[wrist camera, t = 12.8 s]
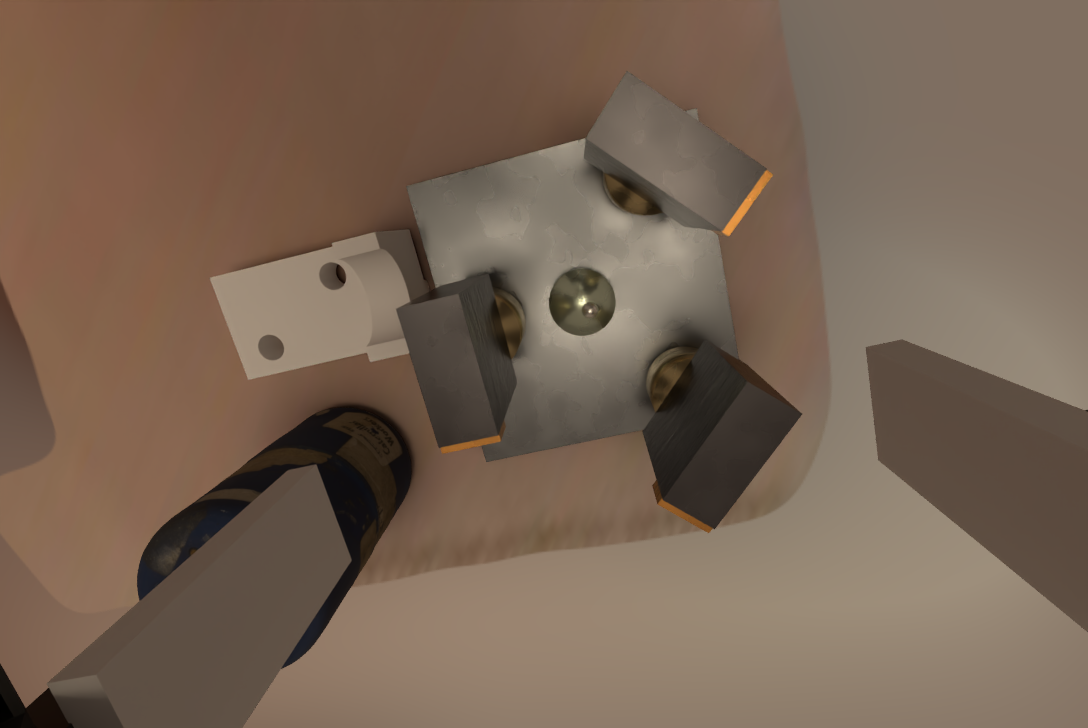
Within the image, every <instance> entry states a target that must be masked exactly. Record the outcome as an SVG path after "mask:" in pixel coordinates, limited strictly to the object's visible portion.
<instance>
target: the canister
mask: <svg viewBox="0 0 1088 728" xmlns="http://www.w3.org/2000/svg"><path fill="white" fill-rule="evenodd" d="M315 464H316V465H317V468H318V470H319V473H320V476H321V479H322V481H323V484H324V487H325V489H326V492H327V495H328V497H329V500H330V503H331V506H332V508H333V511H334V514H335V516H336V519H337V522H338V524H339V527H340V530H341V533H342V535H343V538H344V541H345V543H346V546H347V549H348V551H349V554H350V557H351V560H352V561H351V562H350V564H349V565H348V567H347V568H346V570H345V571H344V573H343V574H342V576H341V578H340V579H339V581H338V582H337V584H336V585H335V587H334V588H333V590H332V591H331V593H330V594H329V596H328V597H327V599H326V600H325V602H324V604H323V605H322V607H321V608H320V610H319V611H318V613H317V614H316V616H315V617H314V619H313V620H312V622H311V623H310V625H309V626H308V628H307V630H306V631H305V633H304V634H303V636H302V637H301V639H300V640H299V642H298V643H297V645H296V646H295V648H294V649H293V651H292V652H291V654H290V656H289V657H288V659H287V660H286V662H285V663H284V665H283V666H282V668H284V667H286V666H288V665H290V664H292V663H293V662H295V661H296V660H298V659H299V658H300V657H302V656H303V655H304V654H305V653H306V652H307V651H308V650H309V649H310V648H311V647H312V646H313V645H314V643H315V642H316V641H317V639H318V638H319V637H320V635H321V634H322V632H323V630H324V629H325V628H326V626H327V625H328V623H329V621H330V620H331V618H332V616H333V615H334V613H335V611H336V609H337V608H338V607H339V605H340V603H341V602H342V600H343V599H344V597H345V595H346V594H347V592H348V591H349V589H350V588H351V586H352V585H353V583H354V581H355V580H356V578H357V576H358V575H359V573H360V572H361V570H362V569H363V567H364V565H365V564H366V562H367V561H368V559H369V558H370V556H371V554H372V552H373V550H374V547H375V546H376V544H377V542H378V541H379V539H380V538H381V536H382V534H383V533H384V531H385V530H386V528H387V527H388V525H389V523H390V521H391V520H392V518H393V516H394V515H395V513H396V511H397V510H398V508H399V507H400V505H401V503H402V502H403V500H404V498H405V496H406V494H407V492H408V489H409V485H410V481H411V461H410V456H409V453H408V450H407V448H406V445H405V443H404V442H403V440H402V438H401V437H400V435H399V434H398V433H397V431H396V430H395V429H394V428H393V427H392V426H391V425H389V424H388V423H387V422H386V421H384V420H383V419H381V418H380V417H378V416H376V415H374V414H372V413H370V412H367V411H364V410H360V409H356V408H333V409H327V410H324V411H321V412H318V413H316V414H314V415H312V416H311V417H309V418H308V419H306V420H305V421H303V422H302V423H301V424H300V425H298V426H297V427H296V428H294V429H293V430H291V431H290V432H288V433H287V434H285V435H284V436H282V437H281V438H279V439H278V440H276V441H275V442H273V443H272V444H271V445H269V446H268V447H266V448H265V449H264V450H262V451H261V452H260V453H258V454H257V455H256V456H254V457H253V458H252V459H250V460H249V461H248V462H247V463H246V464H245V465H243V466H242V467H241V468H240V469H239V470H237V471H236V472H235V473H233V474H232V475H231V476H229V477H228V478H226V479H225V480H224V481H222V482H221V483H220V484H218V485H217V486H216V487H214V488H213V489H212V490H210V491H209V492H208V493H206V494H205V495H204V496H202V497H201V498H200V499H198V500H197V501H195V502H194V503H193V504H191V505H190V506H188V507H187V508H185V509H184V510H182V511H181V512H180V513H178V514H177V515H175V516H174V517H173V518H171V519H170V520H169V521H168V522H167V523H166V524H164V525H163V526H162V527H161V528H160V529H159V530H158V531H157V533H156V534H155V535H154V536H153V537H152V539H151V540H150V542H149V543H148V545H147V547H146V548H145V550H144V552H143V555H142V557H141V560H140V564H139V569H138V575H137V588H138V596H139V600H142V599H143V598H144V597H145V596H146V595H147V594H148V593H150V592H151V591H152V590H153V589H154V588H155V587H156V586H157V585H159V584H160V583H161V582H162V581H163V580H164V579H165V578H167V577H168V576H169V575H170V574H171V573H172V572H173V571H174V570H176V569H177V568H178V567H179V566H180V565H181V564H182V563H183V562H185V561H186V560H187V559H188V558H189V557H190V556H191V555H193V554H194V553H195V552H196V551H197V550H198V549H199V548H200V547H202V546H203V545H204V544H205V543H206V542H207V541H208V540H210V539H211V538H212V537H213V536H214V535H215V534H216V533H217V532H219V531H220V530H221V529H222V528H223V527H224V526H225V525H226V524H228V523H229V522H230V521H231V520H232V519H233V518H234V517H236V516H237V515H238V514H239V513H240V512H241V511H242V510H243V509H245V508H246V507H247V506H248V505H249V504H250V503H251V502H253V501H254V500H255V499H256V498H257V497H258V496H259V495H260V494H262V493H263V492H264V491H265V490H266V489H267V488H268V487H269V486H271V485H272V484H273V483H274V482H275V481H276V480H277V479H279V478H280V477H281V476H282V475H283V474H284V473H285V472H286V471H288V470H292V469H296V468H301V467H306V466H310V465H315ZM282 668H281V669H282Z"/></svg>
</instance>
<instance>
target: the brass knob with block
mask: <svg viewBox="0 0 1088 728" xmlns="http://www.w3.org/2000/svg"><path fill="white" fill-rule="evenodd" d="M646 387H647V392H648V395H649V397H650V400H651V403H652V405H653V408H654V410H655V414H654V415H653V417H652V418H651V420H650V421H649V423H648V424H647V426H646V427H645V429H644V430H643V435H644V438H645V442H646V445H647V448H648V452H649V455H650V459H651V462H652V465H653V469H654V472H655V476H656V479H657V480H656V481H655V483H654V484H653V485H652V486H653V489H654V493H655V497H656V500H657V504H658V505H660V506H662V507H663V508H665V509H667V510H669V511H670V512H672V513H674V514H676V515H677V516H679V517H681V518H683V519H685V520H686V521H688V522H690V523H692V524H693V525H695V526H697V527H699V528H700V529H702V530H704V531H706V532H708V533H709V532H710V531H711V530H712V529H715V528H716V527H717V525H718V524H719V523H720V521H721V520H722V519H723V518H724V516H725V515H726V514H727V512H728V511H729V510H730V508H731V507H732V506H733V504H734V503H735V502H736V500H737V499H738V498H739V497H740V495H741V494H742V493H743V491H744V490H745V489H746V487H747V486H748V485H749V483H750V482H751V481H752V479H753V478H754V477H755V476H756V474H757V473H758V472H759V470H760V469H761V468H762V466H763V465H764V464H765V462H766V461H767V460H768V458H769V457H770V456H771V455H772V453H773V452H774V451H775V449H776V448H777V447H778V445H779V444H780V443H781V441H782V440H783V439H784V437H785V436H786V435H787V434H788V432H789V431H790V430H791V428H792V427H793V426H794V424H795V423H796V422H797V420H798V419H799V418H800V416H801V415H802V413H800V412H799V411H798V410H797V409H796V408H795V407H794V406H793V405H791V404H790V403H789V402H788V401H787V400H786V399H785V398H784V397H783V396H781V395H780V394H779V393H778V392H777V391H776V390H775V389H774V388H772V387H771V386H770V385H769V384H768V383H767V382H766V381H765V380H763V379H762V378H761V377H760V376H759V375H758V374H757V373H756V372H755V371H753V370H752V369H751V368H750V367H749V366H748V365H747V364H745V363H744V362H742V361H740V360H739V359H737V358H735V357H733V356H732V355H730V354H728V353H727V352H725V351H723V350H722V349H720V348H718V347H717V346H715V345H713V344H712V343H710V342H708V341H707V340H705V341H704V342H703V343H702V345H701V346H700V348H699V349H697V348H694V347H687V346H682V347H675V348H672V349H669V350H667V351H665V352H664V353H662V354H661V355H659V356H658V357H657V358H656V359H655V360H654V362H653V363H652V365H651V366H650V368H649V371H648V374H647V379H646Z"/></svg>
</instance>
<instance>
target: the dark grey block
mask: <svg viewBox="0 0 1088 728" xmlns="http://www.w3.org/2000/svg"><path fill="white" fill-rule="evenodd" d="M584 159H585V160H586V161H588V162H589V163H591V164H592V165H594V166H595V167H597V168H598V169H600V170H601V171H603V183H604V187H605V190H606V193H607V195H608V196H609V198H610V200H611V201H612V202H613V203H614V204H615V205H616V206H617V207H618V208H620V209H621V210H623V211H625V212H627V213H630V214H634V215H655V214H660V213H665V214H666V215H668V216H669V217H671V218H672V219H674V220H675V221H676V222H678V223H679V224H681V225H682V226H684V227H690V228H698V229H706V230H711V231H713V232H714V233H716V234H717V235H722V236H729V235H730V234H731V233H732V231H733V230H734V228H735V227H736V226H737V224H738V223H739V221H740V220H741V219H742V217H743V216H744V215H745V213H746V212H747V210H748V209H749V208H750V206H751V205H752V203H753V202H754V201H755V199H756V198H757V196H758V195H759V194H760V192H761V191H762V189H763V188H764V187H765V185H766V184H767V182H768V181H769V180H770V178H771V177H772V175H773V174H772V173H770V172H769V171H767V170H766V168H765V167H764V166H762V165H761V164H759V163H758V162H756V161H755V160H754V159H752V158H751V157H749V156H748V155H746V154H745V153H744V152H742V151H741V150H739V149H738V148H736V147H735V146H734V145H732V144H731V143H729V142H728V141H726V140H725V139H724V138H722V137H721V136H719V135H718V134H716V133H715V132H714V131H712V130H711V129H709V128H708V127H707V126H705V125H704V124H702V123H701V122H699V121H698V120H697V119H695V118H694V117H692V116H691V115H689V114H688V113H687V112H685V111H684V110H682V109H681V108H679V107H678V106H677V105H675V104H674V103H672V102H671V101H669V100H668V99H667V98H665V97H664V96H662V95H661V94H659V93H658V92H657V91H655V90H654V89H652V88H651V87H649V86H648V85H647V84H645V83H644V82H642V81H641V80H639V79H638V78H637V77H635V76H634V75H632V74H631V73H629V72H628V71H627V72H626V73H625V75H624V76H623V78H622V80H621V81H620V83H619V85H618V86H617V88H616V89H615V91H614V93H613V94H612V96H611V98H610V99H609V101H608V102H607V104H606V106H605V107H604V109H603V111H602V112H601V114H600V115H599V117H598V119H597V120H596V122H595V124H594V125H593V127H592V128H591V130H590V132H589V133H588V135H587V137H586V139H585V149H584Z"/></svg>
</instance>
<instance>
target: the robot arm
mask: <svg viewBox="0 0 1088 728" xmlns="http://www.w3.org/2000/svg"><path fill="white" fill-rule="evenodd" d="M866 354H867V363H868V371H869V380H870V389H871V398H872V407H873V416H874V425H875V434H876V443H877V452H878V460H879V461H880V462H881V463H882V464H884V465H885V466H886V467H887V468H889V469H890V470H891V471H892V472H894V473H895V474H896V475H897V476H898V477H900V478H901V479H902V480H904V482H906V483H907V484H908V485H909V486H911V487H912V488H913V489H914V490H915V491H917V492H918V493H919V494H920V495H921V496H923V497H924V498H925V499H927V500H928V501H929V502H930V503H931V504H932V505H934V506H935V507H936V508H937V509H939V510H940V511H941V512H942V513H943V514H945V515H946V516H947V517H948V518H949V519H951V520H952V521H953V522H954V523H956V524H957V525H958V526H959V527H960V528H962V529H963V530H964V531H965V532H966V533H968V534H969V535H970V536H971V537H973V538H974V539H975V540H976V541H977V542H979V543H980V544H981V545H982V546H984V547H985V548H986V549H987V550H988V551H990V552H991V553H992V554H993V555H995V556H996V557H997V558H998V559H999V560H1001V561H1002V562H1003V563H1004V564H1006V565H1007V566H1008V567H1009V568H1010V569H1012V570H1013V571H1014V572H1015V573H1016V574H1018V575H1019V576H1020V577H1021V578H1022V579H1024V580H1025V581H1026V582H1027V583H1029V584H1030V585H1031V586H1032V587H1034V588H1035V589H1036V590H1037V591H1038V592H1040V593H1041V594H1042V595H1043V596H1045V597H1046V598H1047V599H1048V600H1049V601H1050V602H1052V603H1053V604H1054V605H1056V606H1057V607H1058V608H1059V609H1060V610H1061V611H1063V612H1064V613H1065V614H1066V615H1067V616H1069V617H1070V618H1071V619H1072V620H1074V621H1075V622H1076V623H1077V624H1079V625H1080V626H1081V627H1082V628H1083V629H1085V630H1086V631H1087V632H1088V410H1082V409H1079V408H1077V407H1074V406H1071V405H1069V404H1066V403H1064V402H1061V401H1059V400H1056V399H1054V398H1051V397H1048V396H1045V395H1043V394H1041V393H1038V392H1036V391H1033V390H1030V389H1027V388H1025V387H1023V386H1020V385H1018V384H1015V383H1012V382H1010V381H1007V380H1005V379H1002V378H999V377H997V376H994V375H992V374H989V373H987V372H984V371H982V370H979V369H977V368H974V367H971V366H969V365H966V364H964V363H961V362H958V361H956V360H953V359H951V358H948V357H946V356H943V355H940V354H938V353H935V352H933V351H930V350H928V349H925V348H922V347H920V346H917V345H915V344H912V343H910V342H907V341H904V340H897V341H893V342H888V343H883V344H879V345H874V346H870V347H866ZM351 561H352V560H351V557H350V554H349V551H348V549H347V546H346V543H345V541H344V538H343V535H342V533H341V530H340V527H339V524H338V522H337V519H336V516H335V514H334V511H333V508H332V506H331V503H330V500H329V497H328V495H327V492H326V489H325V487H324V484H323V481H322V479H321V476H320V473H319V470H318V468H317V465H316V464H315V465H310V466H306V467H301V468H296V469H292V470H288V471H286V472H285V473H284V474H283V475H282V476H281V477H280V478H279V479H277V480H276V481H275V482H274V483H273V484H272V485H271V486H269V487H268V488H267V489H266V490H265V491H264V492H263V493H262V494H260V495H259V496H258V497H257V498H256V499H255V500H254V501H253V502H251V503H250V504H249V505H248V506H247V507H246V508H245V509H243V510H242V511H241V512H240V513H239V514H238V515H237V516H236V517H234V518H233V519H232V520H231V521H230V522H229V523H228V524H226V525H225V526H224V527H223V528H222V529H221V530H220V531H219V532H217V533H216V534H215V535H214V536H213V537H212V538H211V539H210V540H208V541H207V542H206V543H205V544H204V545H203V546H202V547H200V548H199V549H198V550H197V551H196V552H195V553H194V554H193V555H191V556H190V557H189V558H188V559H187V560H186V561H185V562H183V563H182V564H181V565H180V566H179V567H178V568H177V569H176V570H174V571H173V572H172V573H171V574H170V575H169V576H168V577H167V578H165V579H164V580H163V581H162V582H161V583H160V584H159V585H157V586H156V587H155V588H154V589H153V590H152V591H151V592H150V593H148V594H147V595H146V596H145V597H144V598H143V599H142V600H140V601H139V602H138V603H137V604H136V605H135V606H134V607H133V608H131V609H130V610H129V611H128V612H127V613H126V614H125V615H124V616H122V617H121V618H120V619H119V620H118V621H117V622H116V623H115V624H113V625H112V626H111V627H110V628H109V629H108V630H107V631H105V633H103V634H102V635H101V636H100V637H99V638H98V639H97V640H95V641H94V642H93V643H92V644H91V645H90V646H88V647H87V648H86V649H85V650H84V651H83V652H82V653H81V654H80V655H78V656H77V657H76V658H75V659H74V660H73V661H71V662H70V663H69V664H68V665H67V666H66V667H65V668H64V669H62V670H61V671H60V672H59V673H58V674H57V675H56V676H54V677H53V678H52V679H51V680H50V681H49V682H48V683H47V685H48V687H49V688H48V689H47V690H46V691H45V692H43V693H42V694H41V695H40V696H39V697H38V698H37V699H36V700H35V701H34V702H32V703H31V704H30V705H29V706H28V707H27V708H25V706H24V704H23V703H22V701H21V699H20V697H19V696H18V694H17V692H16V690H15V689H14V687H13V685H12V684H11V682H10V680H9V678H8V676H7V675H6V673H5V671H4V669H3V668H2V666H1V664H0V728H242V727H243V726H244V724H245V723H246V721H247V720H248V718H249V717H250V715H251V714H252V712H253V710H254V709H255V708H256V706H257V705H258V703H259V701H260V700H261V698H262V697H263V695H264V694H265V692H266V690H267V689H268V688H269V686H270V684H271V683H272V682H273V680H274V678H275V677H276V675H277V674H278V672H279V671H280V669H281V668H282V666H283V665H284V663H285V662H286V660H287V659H288V657H289V656H290V654H291V652H292V651H293V649H294V648H295V646H296V645H297V643H298V642H299V640H300V639H301V637H302V636H303V634H304V633H305V631H306V630H307V628H308V626H309V625H310V623H311V622H312V620H313V619H314V617H315V616H316V614H317V613H318V611H319V610H320V608H321V607H322V605H323V604H324V602H325V600H326V599H327V597H328V596H329V594H330V593H331V591H332V590H333V588H334V587H335V585H336V584H337V582H338V581H339V579H340V578H341V576H342V574H343V573H344V571H345V570H346V568H347V567H348V565H349V564H350V562H351Z"/></svg>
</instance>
